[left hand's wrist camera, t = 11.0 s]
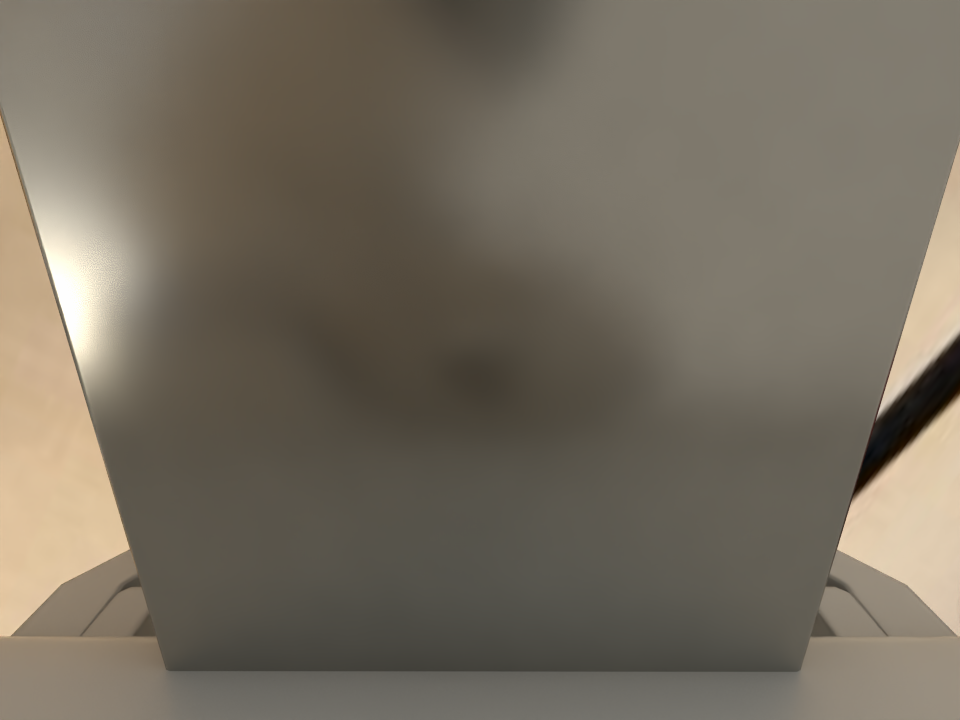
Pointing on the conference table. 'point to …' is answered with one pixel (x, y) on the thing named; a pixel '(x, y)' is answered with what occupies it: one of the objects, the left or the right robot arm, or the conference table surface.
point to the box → (482, 311)
